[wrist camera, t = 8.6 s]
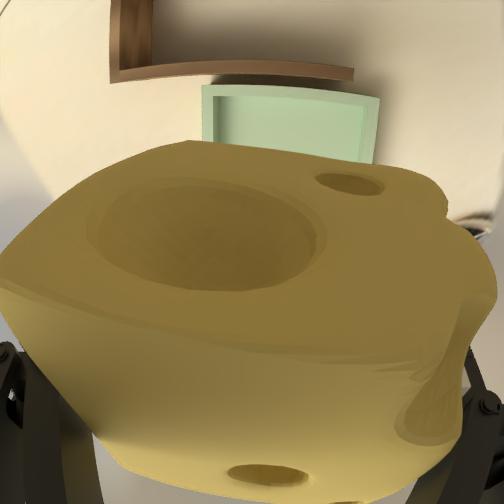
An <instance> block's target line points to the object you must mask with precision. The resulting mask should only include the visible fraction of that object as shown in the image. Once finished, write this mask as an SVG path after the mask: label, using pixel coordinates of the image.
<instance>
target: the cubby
mask: <svg viewBox="0 0 504 504" xmlns="http://www.w3.org/2000/svg"><path fill="white" fill-rule="evenodd" d="M152 7H153V0H111V9H110V38H109V64H110V84H112V83H120V82H129V81H138V80H148V79H156V78H166V77H178V76H192V75H214V74H261V75H283V76H297V77H309V78H319V79H328V80H336V81H353V74H354V68H348V67H341V66H333V65H325V64H316V63H305V62H292V61H274V60H213V61H195V62H182V63H171V64H162V65H154V66H151V42H152Z"/></svg>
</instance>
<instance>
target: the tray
mask: <svg viewBox="0 0 504 504" xmlns="http://www.w3.org/2000/svg"><path fill="white" fill-rule="evenodd" d="M379 105H380V98H376V97H372V96H366V95H360V94H354V93H347V92H340V91H332V90H324V89H314V88H304V87H292V86H276V85H248V84H217V85H202V141H207V142H217V143H226V144H235V145H243V146H252V147H261V148H269V149H276V150H283V151H290V152H297V153H304V154H310V155H315V156H321V157H326V158H332V159H338V160H345V161H351V162H359V163H367V164H372V161H373V154H374V147H375V139H376V132H377V123H378V114H379Z"/></svg>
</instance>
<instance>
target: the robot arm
mask: <svg viewBox="0 0 504 504" xmlns="http://www.w3.org/2000/svg"><path fill="white" fill-rule="evenodd" d="M19 343H20V342H19ZM20 345H21V344H20ZM21 346H22V345H21ZM22 348H23V347H22ZM470 348H471V347H470V346H469V349H468V352H467V355H466V358H465V362H464V368H463V374H462V394H461V395H462V408H463V420H462V432H461V436H460V437H459V439H458V440H457V442H456V443H455V445H454V447H453V448H452V450H451V451H450V452H449V453H448V454H447V455H446V456H445V457H444V458H443V459H442V460H441V461H440V462H439V463H437V464H436V465H435V466H434V467H432V468H431V469H430V470H429V471H427V472H426V473H425V474H423V475H422V476H420V477H419V478H418V480H417V482H416V484H415V486H414V488H413V490H412V492H411V494H410V496H409V497H408V499H407V501H406V503H405V504H504V404H502V403H501V400H500V399H499V397H498V396H497V395H496V394H495V393H493V392H492V391H489V390H487V389H486V387H485V384H484V381H483V378H482V375H481V373H480V370H479V367H478V365H477V362H476V359H475V358H474V354H473V352H472V349H470ZM23 349H24V348H23ZM24 351H25V349H24ZM10 391H11V392H12V393H13V394H14V396H13V398H12V399H11V400H10V399H9V398H8V396H9V394H10ZM25 502H26V504H104V502H103V497H102V493H101V488H100V482H99V477H98V471H97V465H96V459H95V452H94V445H93V437H92V431H91V430H90V429H89V428H88V426H87V425H86V424H85V423H84V421H83V420H82V419H81V418H80V417H79V415H78V414H77V413H76V412H75V411H74V410H73V408H72V407H71V406H70V405H69V404H68V402H67V401H66V400H65V399H64V398H63V396H62V395H61V394H60V393H59V391H58V390H57V389H56V388H55V387H54V385H53V384H52V383H51V382H50V381H49V380H48V378H47V377H46V376H45V375H44V374H43V372H42V371H41V370H40V369H39V368H38V366H37V365H36V364H35V363H34V361H33V360H32V359H31V358H30V356H29V355H28V354H27V352H26V351H25V352H18V351H17V350H16V348H15V346H14V345H13V344H12V343H11V342H8V341H7V342H1V343H0V504H25Z"/></svg>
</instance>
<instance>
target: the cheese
mask: <svg viewBox="0 0 504 504" xmlns="http://www.w3.org/2000/svg"><path fill="white" fill-rule="evenodd" d="M447 206H448V200H447V198H446V196H445V194H444V192H443V191H442V189H441V188H440V187H439V186H438V185H437V184H436V183H435V182H434V181H433V180H431V179H430V178H428V177H426V176H424V175H422V174H419V173H416V172H413V171H410V170H407V169H403V168H398V167H392V166H385V165H376V164H367V163H359V162H351V161H345V160H338V159H332V158H326V157H321V156H315V155H310V154H304V153H297V152H290V151H283V150H276V149H269V148H261V147H252V146H243V145H235V144H226V143H217V142H207V141H192V140H187V141H184V142H179V143H174V144H169V145H164V146H160V147H157V148H153V149H150V150H147V151H145V152H142V153H140V154H137V155H135V156H132V157H130V158H127V159H125V160H122V161H120V162H118V163H115V164H113V165H111V166H109V167H107V168H105V169H102V170H100V171H98V172H96V173H94V174H93V175H91V176H89V177H88V178H86V179H85V180H83V181H81V182H80V183H78V184H77V185H75V186H74V187H73V188H71V189H70V190H68V191H67V192H66V193H64V194H63V195H62V196H60V197H59V198H58V199H57V200H56V201H54V202H53V203H52V204H51V205H50V206H49V207H47V208H46V209H45V210H44V211H43V212H42V213H41V214H40V215H38V217H36V218H35V219H34V220H33V221H32V222H31V223H30V224H29V225H28V226H27V227H26V228H25V229H24V230H22V231H21V232H20V233H19V234H18V235H17V236H16V237H15V238H14V239H13V241H12V242H11V243H10V244H9V245H8V246H7V247H6V248H5V249H4V251H3V252H2V253H1V254H0V312H1V313H2V316H3V317H4V319H5V321H6V322H7V324H8V326H9V327H10V329H11V330H12V332H13V334H14V335H15V337H16V338H17V339H18V341H19V342H20V344H21V345H22V347H23V348H24V349H25V351H26V352H27V354H28V355H29V356H30V358H31V359H32V360H33V361H34V363H35V364H36V365H37V366H38V368H39V369H40V370H41V371H42V372H43V374H44V375H45V376H46V377H47V378H48V380H49V381H50V382H51V383H52V384H53V385H54V387H55V388H56V389H57V390H58V391H59V393H60V394H61V395H62V396H63V398H64V399H65V400H66V401H67V402H68V404H69V405H70V406H71V407H72V408H73V410H74V411H75V412H76V413H77V414H78V415H79V417H80V418H81V419H82V420H83V421H84V423H85V424H86V425H87V426H88V428H89V429H90V430H91V431H92V432H93V434H94V435H95V436H96V437H97V439H98V440H99V441H100V442H101V443H102V445H103V446H104V447H105V448H106V449H107V450H108V452H109V453H110V454H111V455H112V456H113V457H114V459H115V460H116V461H117V462H118V463H119V464H120V466H121V467H122V468H124V469H127V470H129V471H132V472H135V473H137V474H140V475H142V476H145V477H148V478H151V479H154V480H157V481H160V482H163V483H166V484H170V485H174V486H178V487H181V488H185V489H190V490H195V491H199V492H204V493H208V494H214V495H219V496H225V497H231V498H237V499H243V500H250V501H259V502H266V503H275V504H368V503H370V502H373V501H376V500H378V499H380V498H383V497H386V496H389V495H391V494H393V493H395V492H397V491H398V490H400V489H402V488H403V487H405V486H407V485H408V484H410V483H411V482H413V481H414V480H416V479H417V478H419V477H420V476H422V475H423V474H425V473H426V472H427V471H429V470H430V469H431V468H432V467H434V466H435V465H436V464H437V463H439V462H440V461H441V460H442V459H443V458H444V457H445V456H446V455H447V454H448V453H449V452H450V451H451V450H452V448H453V447H454V445H455V443H456V442H457V440H458V439H459V437H460V436H461V432H462V420H463V408H462V395H461V394H462V374H463V368H464V362H465V358H466V355H467V352H468V349H469V346H470V344H471V342H472V340H473V337H474V336H475V334H476V333H477V331H478V329H479V328H480V326H481V325H482V323H483V322H484V320H485V319H486V317H487V316H488V314H489V313H490V311H491V310H492V308H493V307H494V305H495V303H496V300H497V282H496V276H495V272H494V269H493V267H492V265H491V262H490V260H489V258H488V256H487V254H486V253H485V251H484V249H483V248H482V247H481V245H480V243H479V242H478V241H477V240H476V239H475V238H474V237H473V236H472V234H471V233H470V232H469V231H467V230H465V229H464V228H462V227H460V226H458V225H456V224H454V223H453V222H451V221H450V220H449V219H447V218H446V215H447V212H448V207H447Z"/></svg>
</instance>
